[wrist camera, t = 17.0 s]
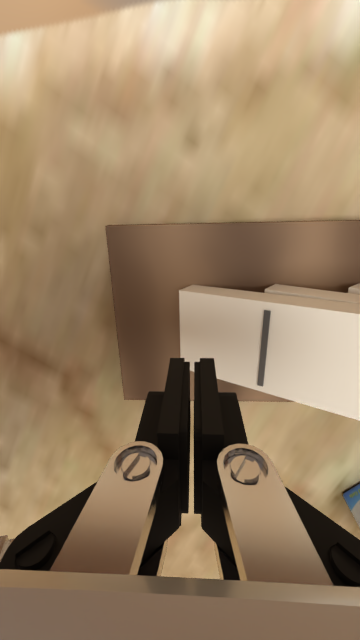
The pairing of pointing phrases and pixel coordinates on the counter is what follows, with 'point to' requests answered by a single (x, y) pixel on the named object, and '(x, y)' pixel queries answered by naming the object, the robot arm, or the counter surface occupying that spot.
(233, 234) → the walnut board
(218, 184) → the counter surface
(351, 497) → the medicine box
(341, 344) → the domino
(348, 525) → the counter surface
